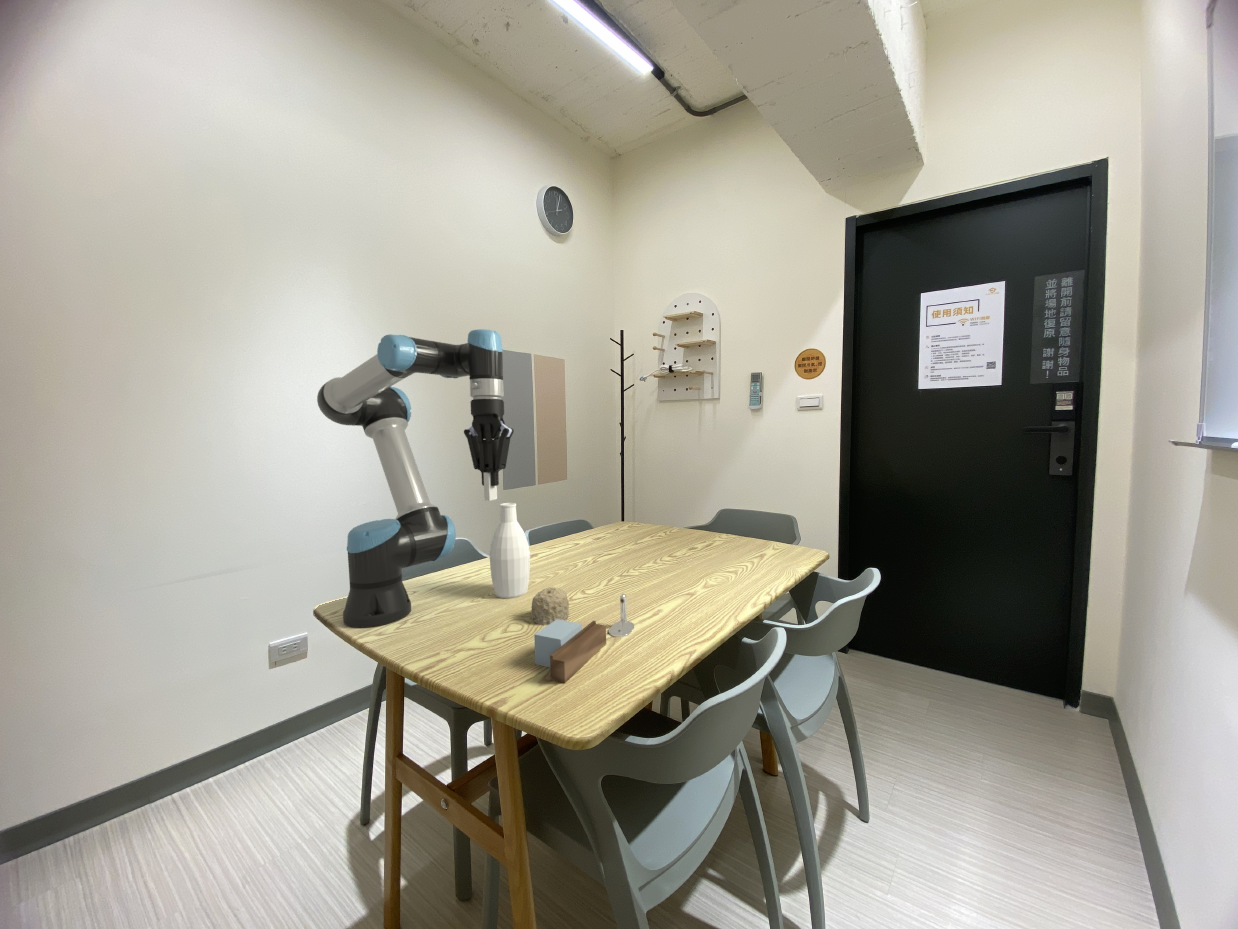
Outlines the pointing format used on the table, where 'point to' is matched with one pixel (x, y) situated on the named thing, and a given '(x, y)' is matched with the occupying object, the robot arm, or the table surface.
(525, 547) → the bottle
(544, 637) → the block
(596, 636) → the brown wooden bar
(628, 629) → the metal post stand
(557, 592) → the sponge
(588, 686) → the table surface
